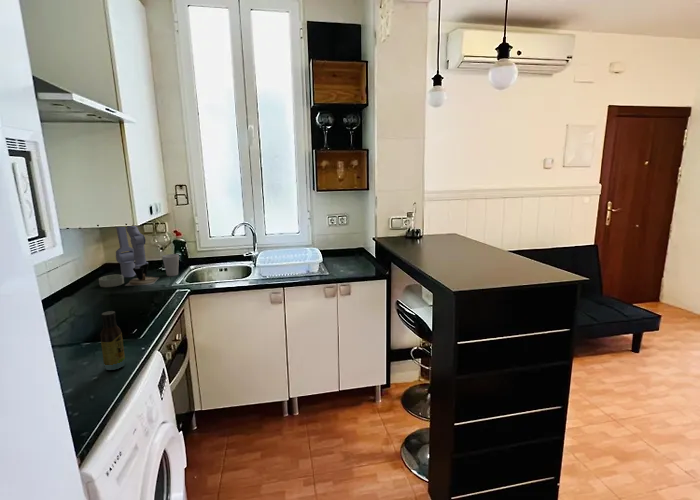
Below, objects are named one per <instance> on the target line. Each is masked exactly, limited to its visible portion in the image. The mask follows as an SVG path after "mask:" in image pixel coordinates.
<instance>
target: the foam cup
mask: <svg viewBox="0 0 700 500" xmlns="http://www.w3.org/2000/svg"><path fill="white" fill-rule="evenodd" d="M161 257H162V263H163V265H164V269H165V272H166V276H167V277H175V276H178V275H179V266H180V265H179V261H180V260H179V259H180V255H179V254H178V253H170V254H164V255H162V256H161Z"/></svg>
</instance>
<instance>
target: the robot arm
mask: <svg viewBox="0 0 700 500" xmlns="http://www.w3.org/2000/svg"><path fill="white" fill-rule="evenodd" d="M115 228H116V233H117V240H118V243H119V248H118V249H117V250H115V260H116V262H117V263H118V264H120V272H121V273H120V275H123V276H124V278H134V277H135V276H136V278H138V280H142V279H143V274H145V277H147V273H148V268H149V265H150V264H149V262H148V261H147V258H146V249H145V245H146V238H145V235H144V234H142V233H141V232H140V230H139V228H138V226H136V225H135V226H125V227H116V226H115ZM127 234H128V235H127ZM128 236H129V238H130V243H129V240H128ZM129 244H131V247H130V245H129Z"/></svg>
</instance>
